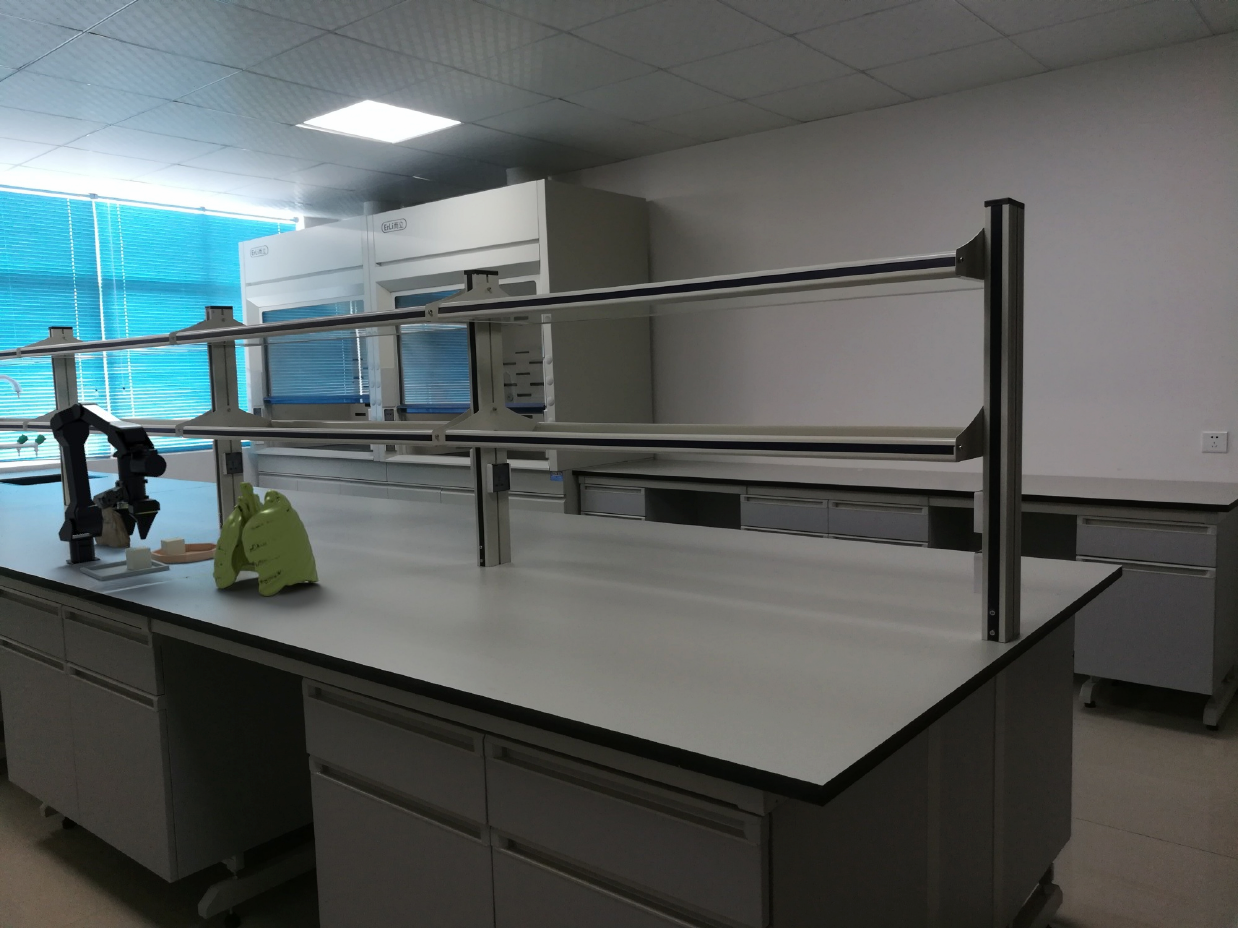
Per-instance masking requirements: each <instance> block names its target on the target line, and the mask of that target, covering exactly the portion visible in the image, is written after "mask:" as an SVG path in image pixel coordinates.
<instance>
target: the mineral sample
mask: <svg viewBox="0 0 1238 928" xmlns="http://www.w3.org/2000/svg"><path fill="white" fill-rule="evenodd" d="M92 500H93V501H94V502H95V500H94V498H93V497H92ZM95 503H96V502H95ZM96 504H97V503H96ZM112 509H113V508H111V507H109V508H107V509H102V515H103V518H104V524H103V531H102V536H101V537H94V542H95V543H96V544H97V545H100V546H109V547H112V548H114V549H120V548H121V549H122V548H128V547H129V548H131V536H128V535H127V532H126V530H125V527H124V525H123V522H122V520H121V517H120V515H119V514H117V513H116V512H114V511H113V510H112Z"/></svg>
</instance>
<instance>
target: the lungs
mask: <svg viewBox="0 0 1238 928" xmlns="http://www.w3.org/2000/svg"><path fill="white" fill-rule="evenodd" d="M239 489H240V493H241V496H238V497H237V498H236V500H237V504H236V505H235V506H232V509H234V510H233V511H232V512H231V513H230V514H229V515H228V517H227V518H226V520H225V521H224V523H223V524H222V526H221V529H220V534H219V538H218V539H217V541H216V544H217V546H216V551H215V554H214V558H213V573H212V576H213V578H214V583H215V586H216V587H217V589H220V590H221V589H226V588H227V587H229V586H232V585H233V584H234V583H235V582H236V580H237V579H238V578H237V577H239V575H240V572H251V573H252V572H253V573H256V574H258V584H259V585H258V593H260V594H261V596H265V597H272V596H274V595H275V594H277V593H279V591H280V590H282V589H283V588H284V587H285V586H293V585H295V584H298V583H305V582H308V583H317V582H319V576H318V571H317V564H316V563H317V562H316V558H315V555H314V553H313V548H312V544H311V541H310V539H309V535H308V534H309V533H308V532H307V529H306V528H305V525H304V523H303V521H302V520H301V518H300V515H299V513H298V511H297V510H296V509H295V508H293V506H292V504H291V502H290V500H289V499H288V497H287V496H286V495H285V494H283V493H281V492H279V491H278V490H275V489H269V490H267V491H266V493H265V495H264V498H263V499H264V502H261V500H260V499H261V498H260V495H259V494H258V493H254V487H253V484H251V482H246V481H242V482H239Z"/></svg>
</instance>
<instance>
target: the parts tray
mask: <svg viewBox="0 0 1238 928" xmlns="http://www.w3.org/2000/svg"><path fill="white" fill-rule="evenodd" d="M151 562H152V568H146V569H140V570H134V571H133V570H130V569H127V563H126V559H125V560H119V561H112V562H111V561H110V562H106V563H100V564H95V565H94V564H93V565H87V566H80V567H79V572H81V573H82V574H85V575H88V576H89V577H92V578H95V579H96V580H99V581H101V582H105V581H110V580H116V579H122V578H128V577H132V576H141V575H147V574H152V573H158V572H163V571H168V570H171V569H170V568H171V567H170V565H169V564H168V563H161V562H158V561H155V560H152V559H151Z"/></svg>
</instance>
